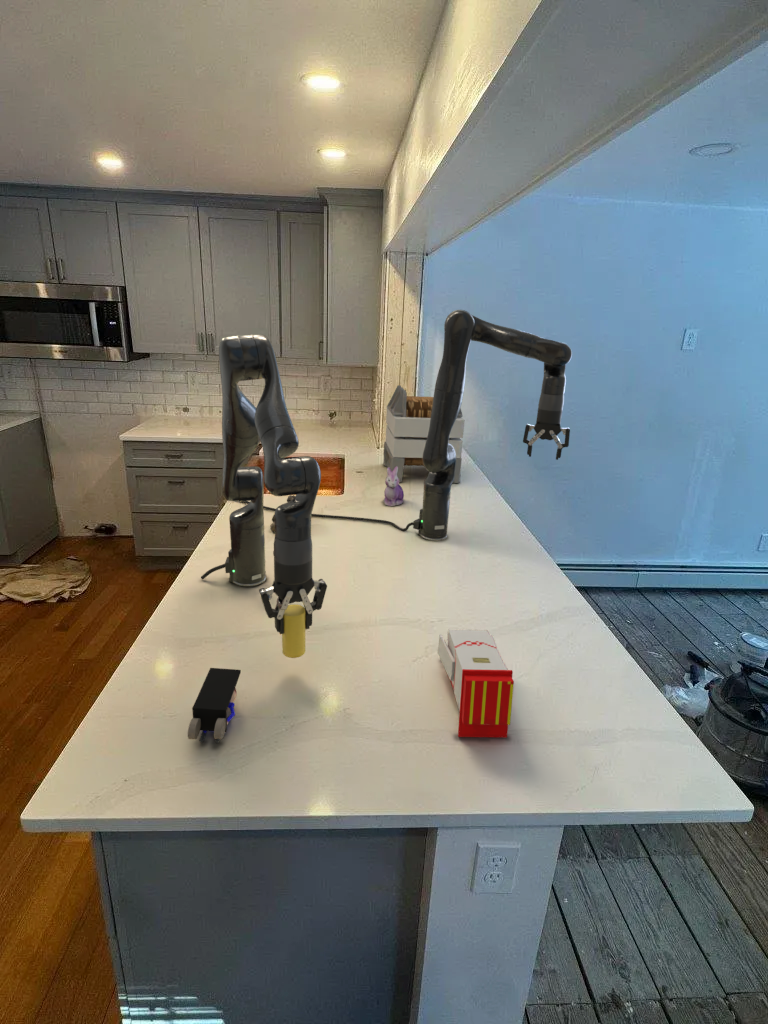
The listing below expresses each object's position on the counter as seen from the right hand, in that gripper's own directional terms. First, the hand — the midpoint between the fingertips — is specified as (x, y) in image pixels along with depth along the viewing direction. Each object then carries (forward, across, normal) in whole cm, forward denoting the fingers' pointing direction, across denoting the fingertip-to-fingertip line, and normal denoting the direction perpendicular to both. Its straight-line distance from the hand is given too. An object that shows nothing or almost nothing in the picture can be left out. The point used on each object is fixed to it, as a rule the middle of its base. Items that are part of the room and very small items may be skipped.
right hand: (543, 457), depth 185 cm
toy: (+31, -10, -87) cm, 93 cm away
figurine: (+31, -56, +25) cm, 69 cm away
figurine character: (+31, -54, -112) cm, 128 cm away
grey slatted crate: (+31, -55, +73) cm, 97 cm away
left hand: (+20, -46, -93) cm, 106 cm away
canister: (+25, -46, -93) cm, 107 cm away
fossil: (+31, -85, -11) cm, 91 cm away
